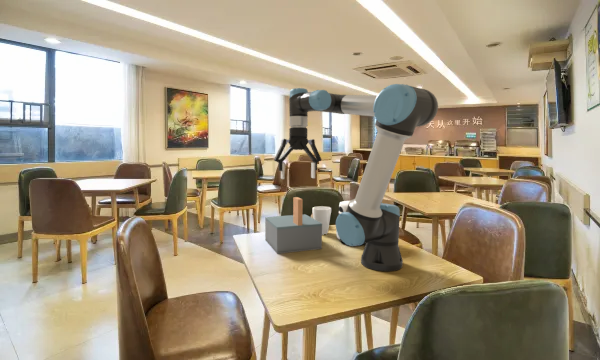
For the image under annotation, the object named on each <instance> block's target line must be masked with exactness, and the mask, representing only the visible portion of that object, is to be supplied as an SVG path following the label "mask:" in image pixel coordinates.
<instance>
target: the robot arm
mask: <svg viewBox="0 0 600 360" xmlns="http://www.w3.org/2000/svg"><path fill="white" fill-rule="evenodd" d="M288 101H289V106H288V107H289V121H288V122H289V123H288V125H289V127H290V128H289V129H288V130H289V131H288V132H289V134H288V137H289V138H288V139H287V138H282V139H281V143H280V147H279V148H278V150H277V153H276V155H275V157H274V159H273V161H274V162H277V163H278V171H279V172H280V179H281V180H285V163H284V161H285V160H286V159H287V158H288V156H289V155H290V154H291V152H292V151H299V150H300V151H302V150H303V151H304V152H305V154H306V155H307V156H308V158H310V160H311V161H312V162H311V163H310V164H311V165H310V166H311V167H310V178H312V179H316V171H317V170H318V163H320V162H321V161H322V156H321V155H320V152H319V151H318V149H317V146H316V141H315V139H314V138H312V139H311V138H310V139H308V125H309V123H308V117H309V116H308V115H309V114H308V113H309V112H321V113H331V114H338V115H355V116H364V117H374V118H375V119H376V120H375V123H374V127H375V129H376V130H377V133H376V136H375V139H374V142H373V145H372V148H371V151H370V154H369V156H368V159H367V162H366V165H365V168H364V172H363V173H362V178H361V181H360V183H359V186H358V189H357V192H356V195H355V198H353V199H351V200H349V201H350V202H349V204H348V207H347V210H346V212H343V213H341V214H339V213H338V215H337V217H336V220H335V230H337V232H338V235H339V237H340V239H341V240H342V241H343V242H342V241H341V242H342V243H344V244H345V245H347V246H350V247H356V246H362V245H365V246H364V248H363V251H362V253H361V257H360V263H361V264H362V265H363V267H365V268H367V269H370V270H373V271H378V272H379V271H380V272H394V271H395V272H396V271H398V270H401V269H402V268H403V263H404V262H403V257H402V253H401V250H400V246H399V240H400V238H399V237H400V219H401V215H400V212H401V211H400V207H399V206H397V205H395V204H390V203H383V200H384V197H385V194H386V192H387V189H388V188H389V187H388V186H389V184H390V181H391V179H392V176H393V174H394V171H395V168H396V166H397V163H398V160H399V157H400V155H401V153H402V150H403V147H404V144H405V142H406V141H407V140H408V139H410V138H412V137H413V136H414V133H415V130H416V128H419V127H423V126H426V125H428V124H429V123H431V122H432V121H433V120H434V119H435V118H436V117H437V114H438V111H439V103H438V99H437V97H436V96H435V94H434V93H433V92H431V91H430V90H428V89H425V88H421V87H420V88H419V87H416V86H412V85H408V84H404V83H401V84H400V83H393V84H390V85H387V86H386V87H384V88H383V89H381V90H380V92H378V94H377V95H370V94H369V95H365V94H364V95H362V94H359V95H358V94H338V93H331V92H328V91H327V90H325V89H315V90H313V91H308V89H307V88H303V87H301V88H300V87H296V88H295V87H294V88H292V89H290V91H289V98H288ZM288 144H289V147H288V148H287V149H286V151H285V152H284V150H285V147H286V145H288ZM308 145H310V148H311V150H312V151H311V150H310V148H309V147H308ZM283 152H284V153H283ZM365 243H366V244H365ZM400 268H401V269H400Z"/></svg>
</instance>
